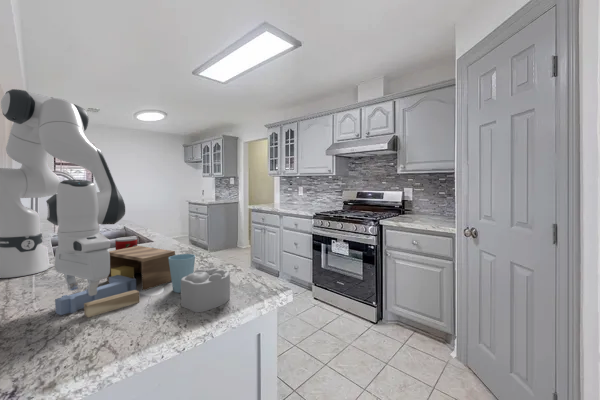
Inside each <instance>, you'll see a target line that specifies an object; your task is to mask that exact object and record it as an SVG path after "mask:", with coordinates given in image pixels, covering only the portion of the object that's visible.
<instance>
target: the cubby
mask: <svg viewBox="0 0 600 400" xmlns="http://www.w3.org/2000/svg"><path fill="white" fill-rule="evenodd" d="M108 251H109V254H110V274H109V276H108V277H107V278H106V282H109V277H111V268H115V267H120V266H124V265H125V266H130V267H134V275H136V274H137V275H138V274H141V290H142V291H146V290H149V289H153V288H155V287H158V286H162V285H165V284H168V283H172V280H171V273H170V266H169V259H168V258H169V257H170V256H173V255H176V251H175V250H170V249H163V248H155V247H148V246H143V245H137V246H135V247H130V248H124V249H119V250H116V249H114V250H108Z"/></svg>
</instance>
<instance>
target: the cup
mask: <svg viewBox="0 0 600 400" xmlns="http://www.w3.org/2000/svg"><path fill="white" fill-rule="evenodd" d="M168 259H169V266H170V273H171V280H172V281H171V286H172V291H173V293H177V294H178V293H180V294H181V279H182V278H183V277H185V276H188V275H189V274H192V273H194V272H195V261H196V255H195V254H193V253H182V254H175V255H173V256H170V257H169V258H168Z"/></svg>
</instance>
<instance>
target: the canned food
mask: <svg viewBox="0 0 600 400" xmlns="http://www.w3.org/2000/svg"><path fill="white" fill-rule="evenodd" d="M114 241H115V250H119V249H124V248H130V247H135V246H138V238H137V236H123V237H117V238H115V239H114Z"/></svg>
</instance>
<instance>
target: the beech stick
mask: <svg viewBox="0 0 600 400" xmlns="http://www.w3.org/2000/svg"><path fill="white" fill-rule="evenodd" d="M138 303H140V291H139V290H137V289H136V290H132V291H129V292H125V293H121V294H117V295H113V296H110V297H106V298H102V299H98V300H95V301H91V302H87V303H84V308H83V311H84V314H83V315H84V316H85V317H87V318H91V317H94V316H98V315H101V314H104V313H108V312H111V311H115V310H118V309H121V308H125V307H128V306H131V305H134V304H138Z"/></svg>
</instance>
